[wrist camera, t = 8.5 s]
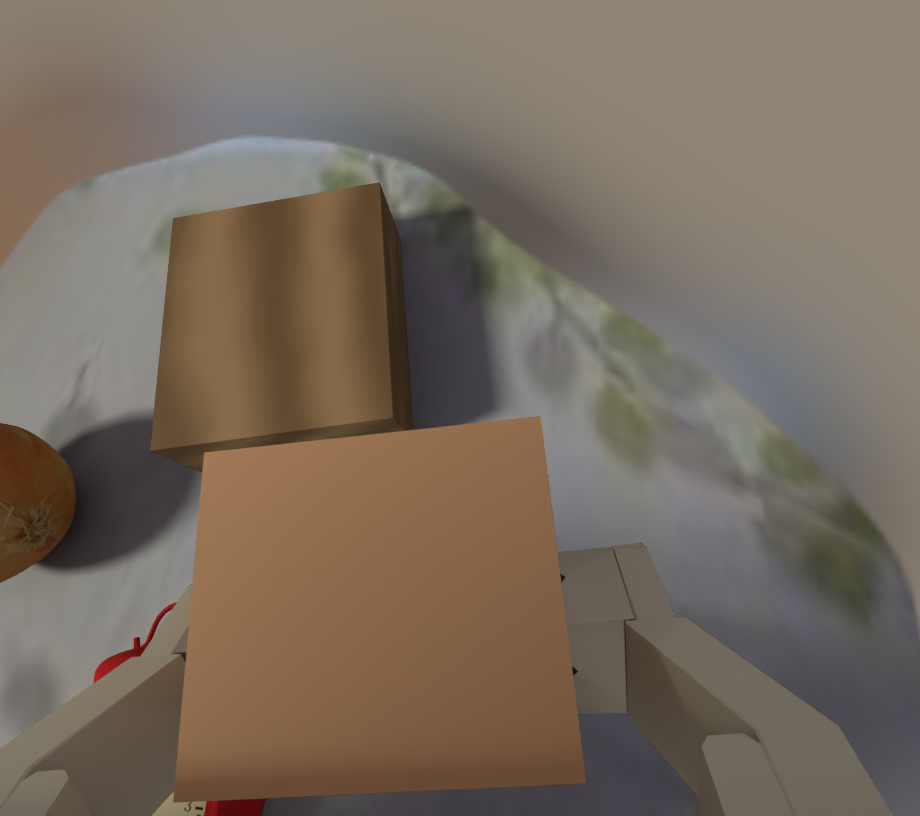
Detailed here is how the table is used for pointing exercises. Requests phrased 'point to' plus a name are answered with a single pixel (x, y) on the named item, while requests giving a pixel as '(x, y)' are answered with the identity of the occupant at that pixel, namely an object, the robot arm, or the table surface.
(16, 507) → the onion
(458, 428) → the terracotta block
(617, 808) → the table surface
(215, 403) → the walnut box
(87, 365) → the table surface
